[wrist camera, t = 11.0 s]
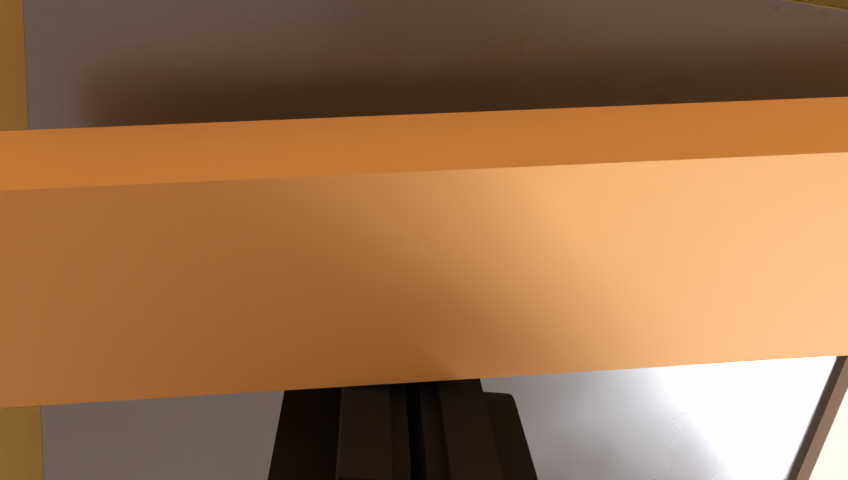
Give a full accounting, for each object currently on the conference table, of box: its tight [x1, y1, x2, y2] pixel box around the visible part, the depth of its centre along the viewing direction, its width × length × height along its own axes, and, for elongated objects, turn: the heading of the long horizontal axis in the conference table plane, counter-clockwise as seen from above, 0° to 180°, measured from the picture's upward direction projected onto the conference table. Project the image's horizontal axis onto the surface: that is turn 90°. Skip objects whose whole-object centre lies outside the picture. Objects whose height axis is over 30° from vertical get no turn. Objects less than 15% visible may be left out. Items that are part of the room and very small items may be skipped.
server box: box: [23, 0, 848, 480], centre depth 16 cm, size 22×18×6 cm
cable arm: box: [0, 97, 848, 408], centre depth 9 cm, size 20×4×3 cm, turn 91°
